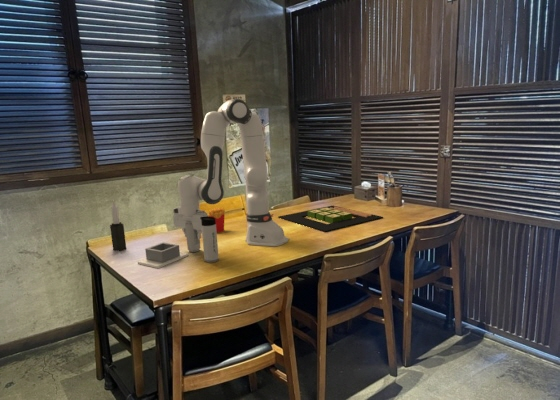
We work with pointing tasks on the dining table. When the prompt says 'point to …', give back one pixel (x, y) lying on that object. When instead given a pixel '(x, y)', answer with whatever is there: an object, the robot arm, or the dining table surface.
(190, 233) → the energy drink can
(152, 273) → the dining table surface
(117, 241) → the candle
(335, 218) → the sushi set
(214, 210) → the french fries
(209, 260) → the travel mug
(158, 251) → the housing
